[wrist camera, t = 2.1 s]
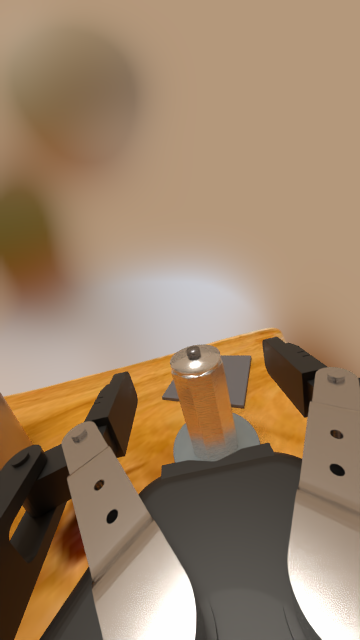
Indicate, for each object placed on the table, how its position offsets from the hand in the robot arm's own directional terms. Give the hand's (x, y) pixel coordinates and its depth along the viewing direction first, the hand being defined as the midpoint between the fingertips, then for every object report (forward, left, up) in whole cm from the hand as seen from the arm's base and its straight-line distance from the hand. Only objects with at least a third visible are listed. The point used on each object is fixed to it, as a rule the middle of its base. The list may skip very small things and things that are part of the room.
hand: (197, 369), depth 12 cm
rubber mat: (-10, +26, -20) cm, 35 cm away
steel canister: (-5, +10, -19) cm, 22 cm away
